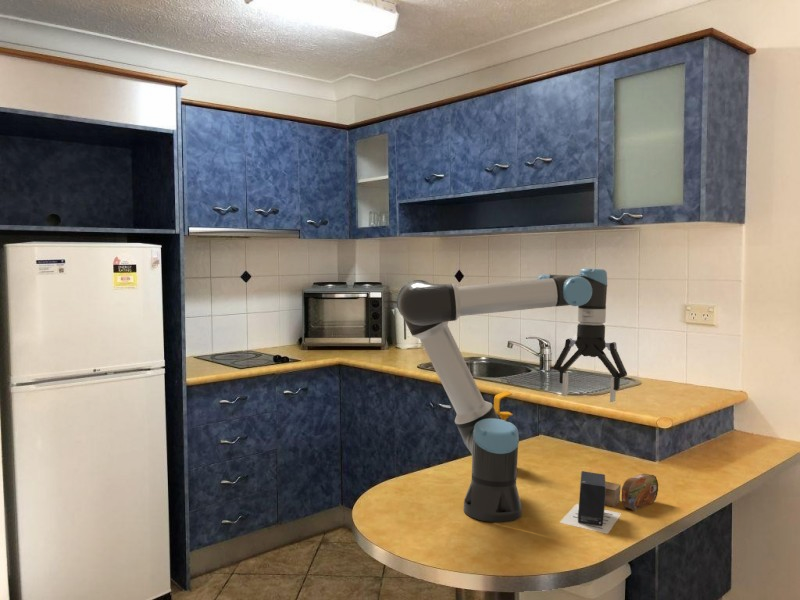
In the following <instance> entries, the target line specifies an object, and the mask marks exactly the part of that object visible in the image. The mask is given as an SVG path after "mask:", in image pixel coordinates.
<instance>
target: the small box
mask: <svg viewBox="0 0 800 600" xmlns="http://www.w3.org/2000/svg"><path fill="white" fill-rule="evenodd" d="M580 474H581V475H580V486H579V499H578V504H579V510H578V522H580V523H587V524H593V525H600V526H602V525H603V518H604V510H605V507H606V505H605V493H606V487H605V481H606V475H605V474H603V473H596V472H591V471H585V470H582V471H581V472H580Z"/></svg>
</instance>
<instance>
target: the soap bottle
mask: <svg viewBox="0 0 800 600" xmlns="http://www.w3.org/2000/svg"><path fill="white" fill-rule="evenodd" d="M512 395H513V393H512V392H510V391H509V390H508V391H507V390H505V391H503V392H499V393H497V394H495V396H494V398H493V407H494V409H495V411H496V413H497V415H498V416H499V419H501V420H505V421H506V422H508V421H507V419H508V418H509V417H513V413H511V412H510V411H501V410H500V409H501V407H500V406H501V400H502V399H504V398H507V397H509V396H512Z"/></svg>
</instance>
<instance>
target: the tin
mask: <svg viewBox="0 0 800 600" xmlns="http://www.w3.org/2000/svg"><path fill="white" fill-rule="evenodd" d="M621 487H622V488H621V503H622V505H623V507H624V508H626V509H629V510H631V511H637V510H639V509H641V508H644V507H647V506H650V505H653V504H654V502H655V501H656V500H657V497H658V492H659V482H658V479H657V477H656V476H655V475H654V474H650V473H649V474H648V473H641V474H638V475H635V476H632V477H629V478H627V479H626V480H625V481H624V483H623V485H622V486H621Z"/></svg>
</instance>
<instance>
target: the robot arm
mask: <svg viewBox="0 0 800 600" xmlns="http://www.w3.org/2000/svg"><path fill="white" fill-rule="evenodd" d="M607 293H608V273H607V270H605V269H603V268H580V270H579V273H578V275H576V274H575V275H568V274H567V275H566V274H565V275H564V274H541V275H539V276H538V277H537V279H529V280H519V281H517V280H516V281H509V282H508V281H506V282H497V283H486V284H476V285H464V286H463V285H462V286H456V285H455V284H454V283H441V284H439V283H431V282H428V281H426V280H422V279H415V280H413V281H408V282H407V283H406V284H404V285H403V286H402V287H401V288H400V290H399V291H398V293H397V297H396V307H397V310H398V312H399V314H400V315H401V316H402V318H403V320H404V323H405V324H406V326H407V329H408V330H409V333H410V334H411V336H412V337H414V338H418V339H419V341H420V342H421V345H422V347H423V348H424V351H425V352H426V354H427V356H428V358H429V361H430V362H431V365H432V367H433V369H434V371H435V372H436V375H437V376H438V378H439V381H440V383H441V386H443V389H444V391H445V392H446V395H447V397H448V400H449V401H450V403H451V405H452V407H453V409H454V412H455V413H456V414H455V415H456V416H455V419H454V424H455V425H456V427H457V429H458V431H459V433H460V436H461V440H462V443H464V445H465V447H466V448H467V449H468V450H469V452H470V454H471V456H472V457H471V459H472V460H471V461H472V462H471V463H472V464H471V478H470V479H471V480H470V484H469V487H468V489H467V491H466V495H465V497H464V500H463V512H464V513H465V514H466V515H467V516H468V517H470V518H473V519H475V520H478V521H482V522H488V523H497V524H498V523H499V524H500V523H502V524H503V523H509V522H510V523H511V522H514V521H518V520H519V519H520V518H521V517H522V514H523V513H522V511H523V507H522V501H521V499H520V494H519V491H518V487H517V475H518V473H517V472H518V454H519V443H520V437H519V430H518V428H517V426H516V425H515V424H514V423H512V422H510V421H507V420H506V421H507V422H506V421H505V420H501V418H500V416H499V415H498V414H497V413H496V411H495V409H494V404H492V402H489V401H486V400H485V399H484V398H483V396H482V393H481V391H480V389H479V387H478V385H477V383H476V381H475V379H474V377H473V374H472V373H471V370H470V368H469V366H468V365H467V363H466V360H465V358H464V356H463V354H462V352H461V350H460V348H459V346H458V344H457V342H456V340H455V338H454V336H453V334H452V332H451V330H450V328H449V326H448V323H449V322H453V321H454V322H456V321H457V320H458V319H459V318H460V317H464V316H465V317H466V316H473V315H474V316H476V315H483V314H484V315H485V314H493V313H494V314H495V313H504V312H514V311H524V310H533V309H535V310H536V309H545V308H552V307H553V308H555V307H565V306H572V307H577V322H578V324H577V327H576V328H577V330H576V331H577V332H576V340H575V339H573V338H570V337H569V338H567V339H565V343H564V347H563V349H562V351H561V352H560V354H559V356H558V358H557V360H556V361H555V363H554V365H553V370H556V371H558V372H559V384H561V385H562V389H561V390H562V391H561V393H562V394H561V396H562V397H563V396H564V397H566V396H568V395H569V371H568V370H569V368H570V367H571V366H572V365H573V364H574V363H575V362H576V361H577V360H578V359H579V358H580V357H581V356H583V357H590V358H596V357H597V358H598V359H599V360H600V362H602V363H603V366H604V367H605V368H606V369H607V371H608V372H609V373H610V374H611V376H612V377H611V378H610V391H609V403H614V402H615V401H616V395H617V391H619V390H620V387H621V386H620V383H621V378H625V377H627V376H628V372H627V370H626V367H625V366H624V364H623V360H622V359H621V357H620V354H619V352H618V349H617V343H616V342H615V341H613V342H606V338H605V336H606V326H605V323H606V320H607V315H606V314H607ZM574 345H575V346H576V348H577V350H576V351H575V352H574V354H572V356H571V357H570V358H569V359H568V360H567V361H565V360H566V358H567V356H568V354H569V352H570V351H571V349H572V347H574ZM606 348H607V350H608V351H609V353H610V355H611V357H612V359H613V362H614V364H615V365H613V363H612V362H611V360H610V358H608V356H607V354H606V353H605V352H604V350H605V349H606ZM564 361H565V363H564ZM615 366H616V367H615ZM616 368H617V369H616Z"/></svg>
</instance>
